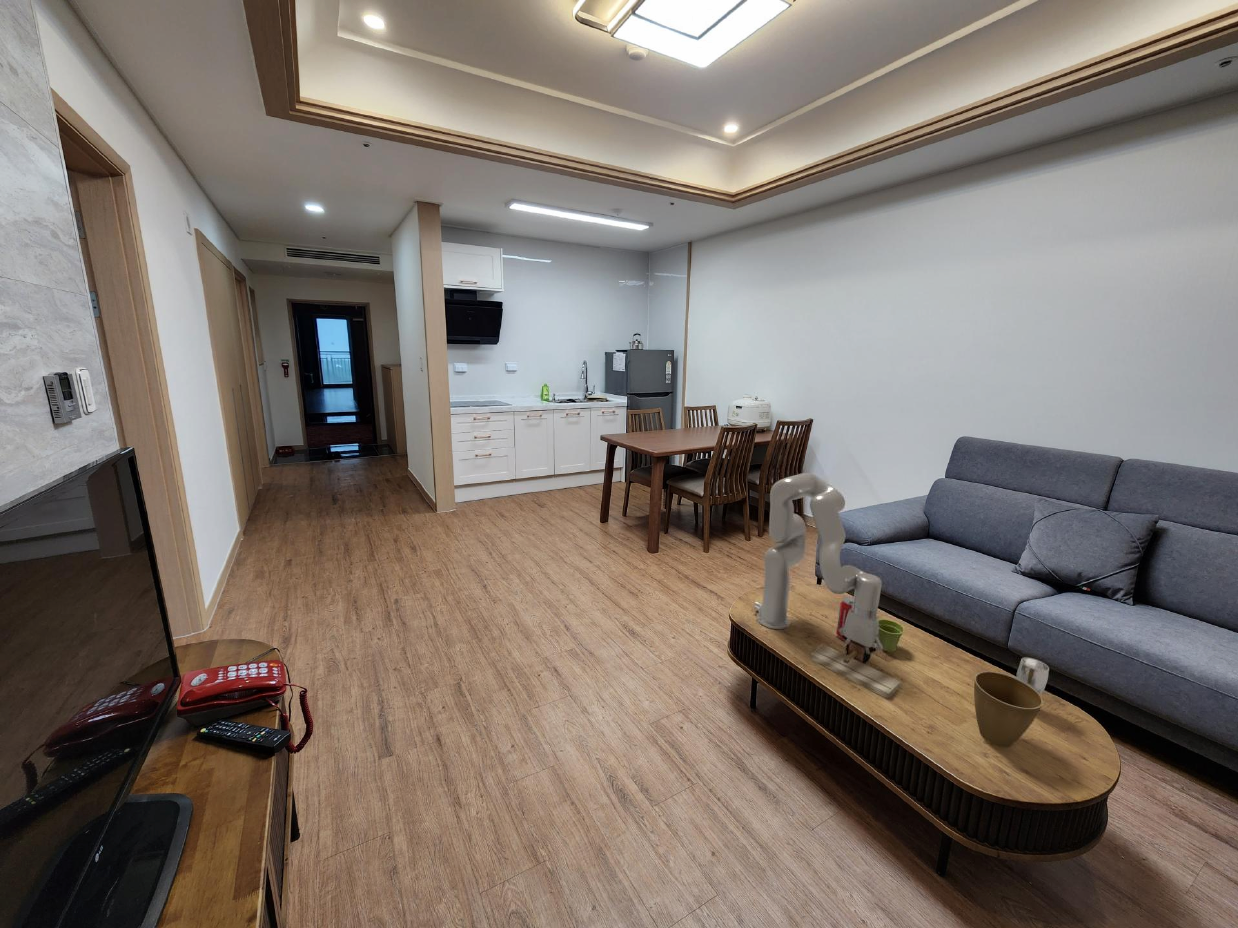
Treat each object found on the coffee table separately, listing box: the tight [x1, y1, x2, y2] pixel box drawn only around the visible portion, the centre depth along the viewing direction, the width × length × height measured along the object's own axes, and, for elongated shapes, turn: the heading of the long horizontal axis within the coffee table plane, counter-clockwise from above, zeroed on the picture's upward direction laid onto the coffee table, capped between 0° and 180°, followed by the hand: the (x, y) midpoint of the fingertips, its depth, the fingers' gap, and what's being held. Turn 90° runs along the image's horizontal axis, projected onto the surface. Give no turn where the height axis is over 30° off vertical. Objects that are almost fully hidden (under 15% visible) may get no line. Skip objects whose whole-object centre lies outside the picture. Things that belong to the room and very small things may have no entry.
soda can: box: [835, 596, 854, 641], centre depth 185 cm, size 8×8×15 cm
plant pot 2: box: [973, 670, 1044, 748], centre depth 137 cm, size 15×15×16 cm
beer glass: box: [1015, 657, 1050, 697], centre depth 150 cm, size 7×7×15 cm
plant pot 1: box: [878, 618, 905, 653], centre depth 180 cm, size 9×9×9 cm
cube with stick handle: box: [843, 640, 866, 664], centre depth 169 cm, size 5×11×6 cm, turn 130°
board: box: [809, 643, 901, 700], centre depth 166 cm, size 26×9×2 cm, turn 40°
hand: (857, 657), depth 172 cm, fingers closed on cube with stick handle, 5 cm apart
